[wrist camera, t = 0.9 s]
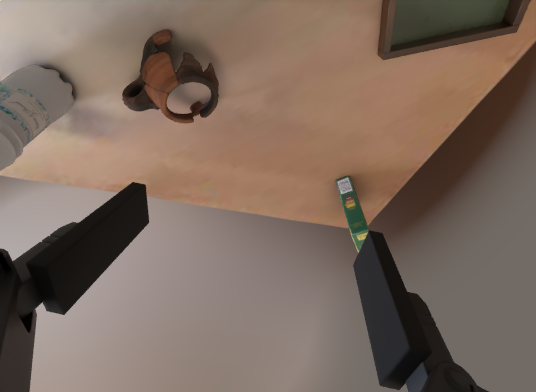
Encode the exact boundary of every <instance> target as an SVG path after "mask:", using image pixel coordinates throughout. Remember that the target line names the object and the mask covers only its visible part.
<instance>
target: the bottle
mask: <svg viewBox="0 0 536 392" xmlns="http://www.w3.org/2000/svg"><path fill="white" fill-rule="evenodd" d="M59 75H60V74H59V73H58V72H57V71H55V70H52V69H44V68H43V67H42V66H40V65H29V66H26V67H23V68H21V69H19V70H17V71H15V72H14V73H12V74H11V75H9V76H8V77H6V78H5V79H3V80H2V81H1V82H0V171H1V170H3V169H4V168H6V167H7V166H9V165H11V164H13V163H14V161H15V160H16V158H18V157H19V156H20V155H21V154H22V152H23V148H24V147H25V146H26V145H27V144H28V143H29V142H31V141H32V140H33V139H34V138H35V137H36V136H37V135H39V134H40V133H41V132H42V131H43V130H44V129H45V128H47V127H48V126H49V125H50V124H51V123H53V122H54V121H56V120H57V119H59V118H60V117H61V116H63V115H64V114H65V113H67V112H68V110H69V109H70V108H71V107H72V106H73V103H74V97H73V96H72V86H71V85H70V83H68V82H67V83H64V82H63V81H62V80H61V79H60V78H59Z"/></svg>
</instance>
